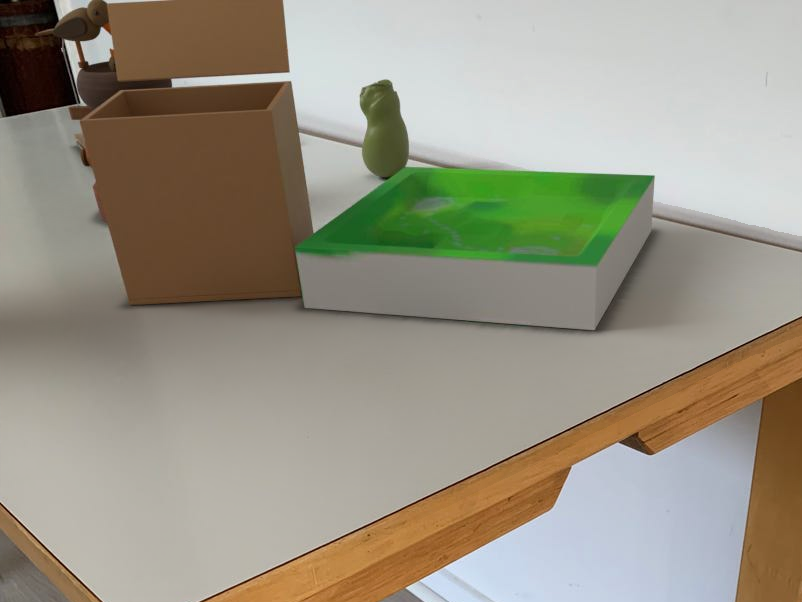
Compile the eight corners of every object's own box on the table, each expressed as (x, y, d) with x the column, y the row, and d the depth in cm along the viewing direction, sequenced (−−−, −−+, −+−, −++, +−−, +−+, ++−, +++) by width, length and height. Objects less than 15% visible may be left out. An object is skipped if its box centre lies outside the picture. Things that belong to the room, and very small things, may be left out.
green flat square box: (651, 231, 94) (654, 175, 91) (594, 330, 76) (596, 265, 73) (409, 219, 101) (405, 166, 98) (304, 307, 83) (294, 247, 80)
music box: (76, 232, 102) (14, 5, 91) (96, 211, 111) (41, 2, 100) (223, 218, 104) (179, -7, 92) (231, 199, 113) (192, -9, 101)
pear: (395, 184, 111) (386, 85, 105) (355, 181, 113) (344, 83, 107) (419, 172, 115) (411, 75, 109) (380, 168, 117) (370, 73, 111)
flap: (106, 3, 83) (108, 4, 83) (117, 80, 85) (119, 81, 85) (281, -7, 83) (282, -5, 83) (289, 71, 84) (289, 72, 85)
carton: (129, 305, 85) (79, 120, 76) (161, 259, 94) (120, 90, 85) (301, 296, 85) (271, 110, 76) (316, 251, 94) (291, 80, 85)
